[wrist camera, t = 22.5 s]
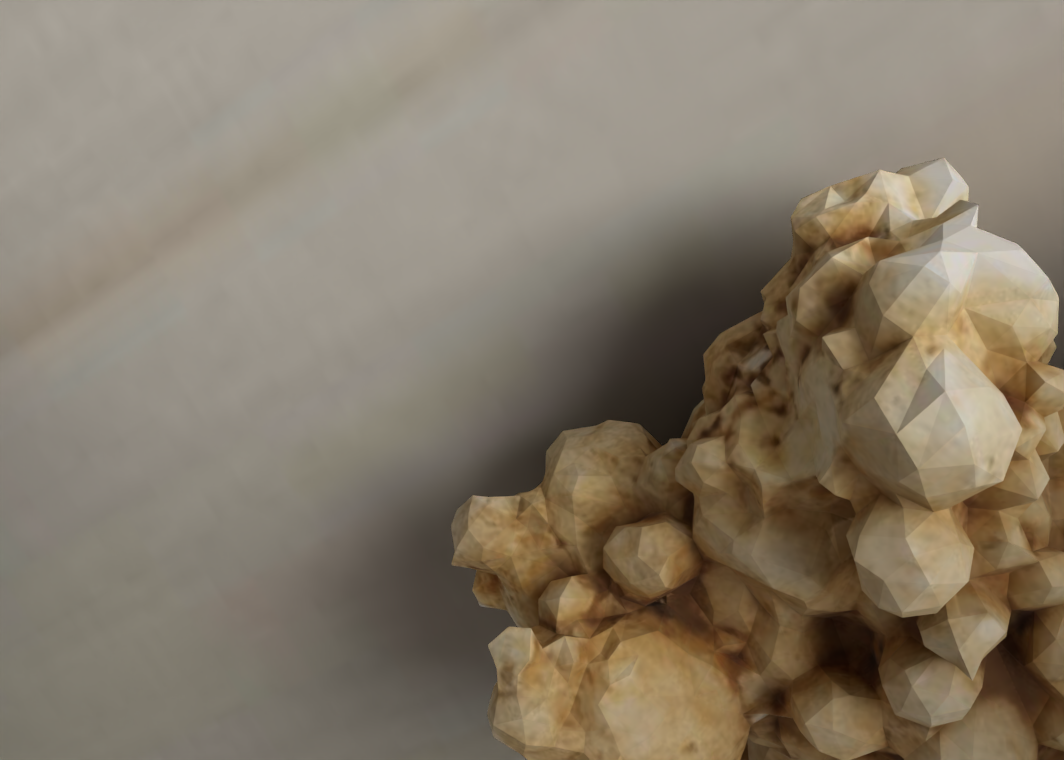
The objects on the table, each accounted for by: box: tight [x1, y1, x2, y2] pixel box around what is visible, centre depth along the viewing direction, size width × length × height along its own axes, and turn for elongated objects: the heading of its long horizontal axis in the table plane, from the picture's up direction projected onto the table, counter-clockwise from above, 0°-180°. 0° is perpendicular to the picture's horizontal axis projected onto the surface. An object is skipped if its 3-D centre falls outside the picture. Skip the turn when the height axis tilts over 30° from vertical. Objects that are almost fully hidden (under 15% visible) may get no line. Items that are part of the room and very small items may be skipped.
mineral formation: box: [451, 158, 1064, 760], centre depth 19 cm, size 8×13×15 cm
